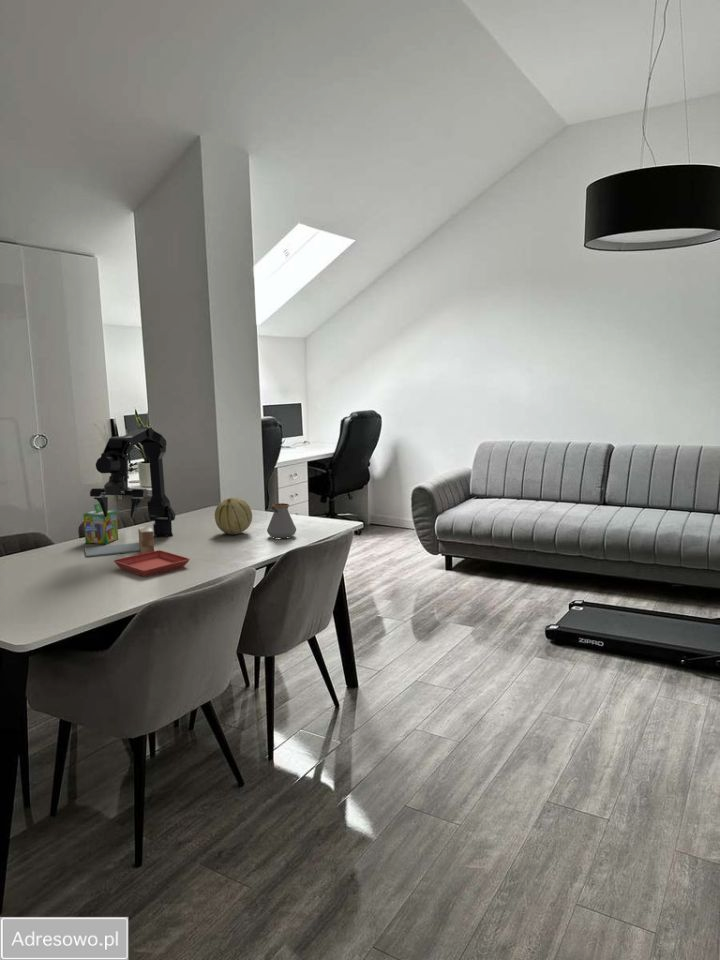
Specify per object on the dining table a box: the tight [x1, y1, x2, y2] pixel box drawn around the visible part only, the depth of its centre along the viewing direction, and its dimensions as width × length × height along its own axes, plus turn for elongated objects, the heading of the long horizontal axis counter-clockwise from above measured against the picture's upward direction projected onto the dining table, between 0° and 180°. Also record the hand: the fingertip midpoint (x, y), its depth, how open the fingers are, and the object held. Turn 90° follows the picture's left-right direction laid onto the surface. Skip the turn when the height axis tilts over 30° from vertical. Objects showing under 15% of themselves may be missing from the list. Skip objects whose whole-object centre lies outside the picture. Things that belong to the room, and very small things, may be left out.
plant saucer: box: [113, 549, 191, 577], centre depth 235 cm, size 18×18×3 cm
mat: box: [83, 542, 140, 558], centre depth 259 cm, size 20×12×1 cm, turn 114°
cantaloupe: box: [214, 497, 253, 535], centre depth 283 cm, size 15×15×15 cm
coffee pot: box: [266, 502, 297, 539], centre depth 272 cm, size 21×12×15 cm, turn 174°
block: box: [137, 526, 155, 554], centre depth 253 cm, size 4×8×9 cm, turn 24°
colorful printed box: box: [83, 502, 119, 545], centre depth 272 cm, size 9×9×15 cm
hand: (119, 517), depth 249 cm, fingers open, 9 cm apart
